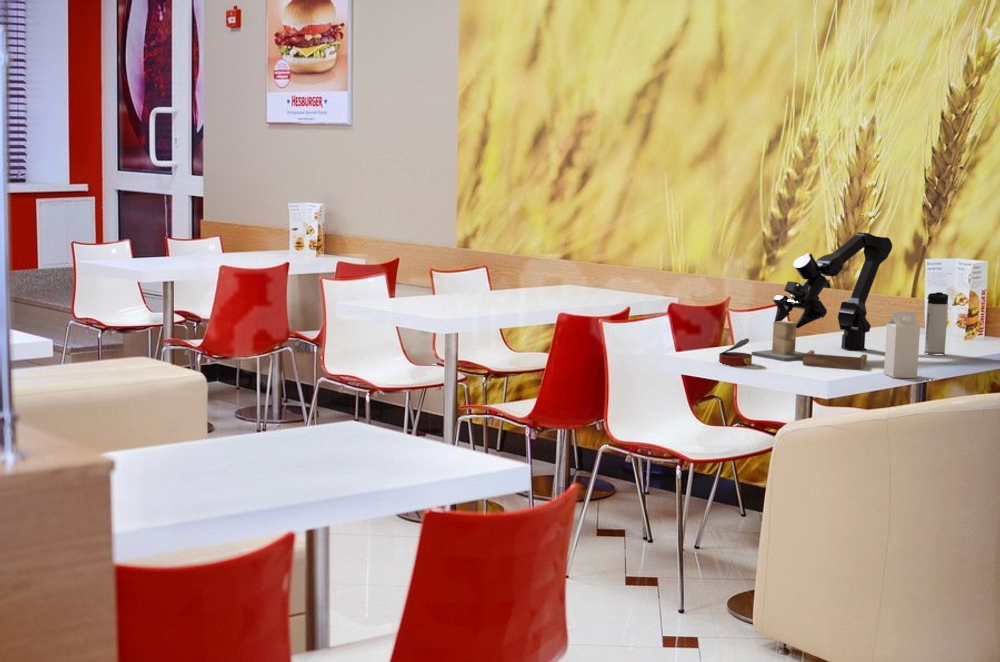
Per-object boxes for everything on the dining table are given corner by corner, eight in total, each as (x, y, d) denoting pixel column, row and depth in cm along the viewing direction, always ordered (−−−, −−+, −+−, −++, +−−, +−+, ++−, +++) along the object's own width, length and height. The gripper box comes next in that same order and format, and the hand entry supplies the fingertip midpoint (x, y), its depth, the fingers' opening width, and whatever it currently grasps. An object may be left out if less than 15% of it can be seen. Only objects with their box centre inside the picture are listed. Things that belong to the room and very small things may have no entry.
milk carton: (883, 374, 377) (887, 310, 374) (907, 374, 377) (911, 310, 375) (893, 378, 370) (897, 313, 367) (917, 378, 370) (921, 313, 368)
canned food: (731, 381, 387) (719, 353, 384) (719, 372, 397) (707, 345, 394) (764, 364, 388) (752, 336, 385) (751, 355, 397) (739, 328, 394)
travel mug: (945, 353, 420) (949, 292, 417) (943, 356, 414) (947, 294, 411) (925, 352, 422) (929, 291, 420) (923, 354, 416) (927, 293, 414)
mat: (782, 351, 417) (782, 348, 417) (815, 357, 405) (815, 354, 405) (751, 355, 409) (751, 351, 409) (783, 361, 398) (784, 358, 398)
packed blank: (783, 351, 411) (784, 320, 409) (794, 353, 407) (796, 322, 405) (772, 352, 408) (773, 321, 407) (783, 354, 404) (785, 323, 402)
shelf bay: (810, 359, 402) (810, 348, 401) (866, 364, 395) (867, 352, 394) (802, 364, 391) (803, 353, 391) (860, 369, 384) (861, 358, 384)
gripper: (778, 269, 415) (752, 305, 410) (822, 274, 399) (795, 312, 395) (794, 292, 420) (768, 328, 415) (838, 298, 405) (812, 335, 400)
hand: (785, 325), depth 406 cm, fingers open, 9 cm apart
